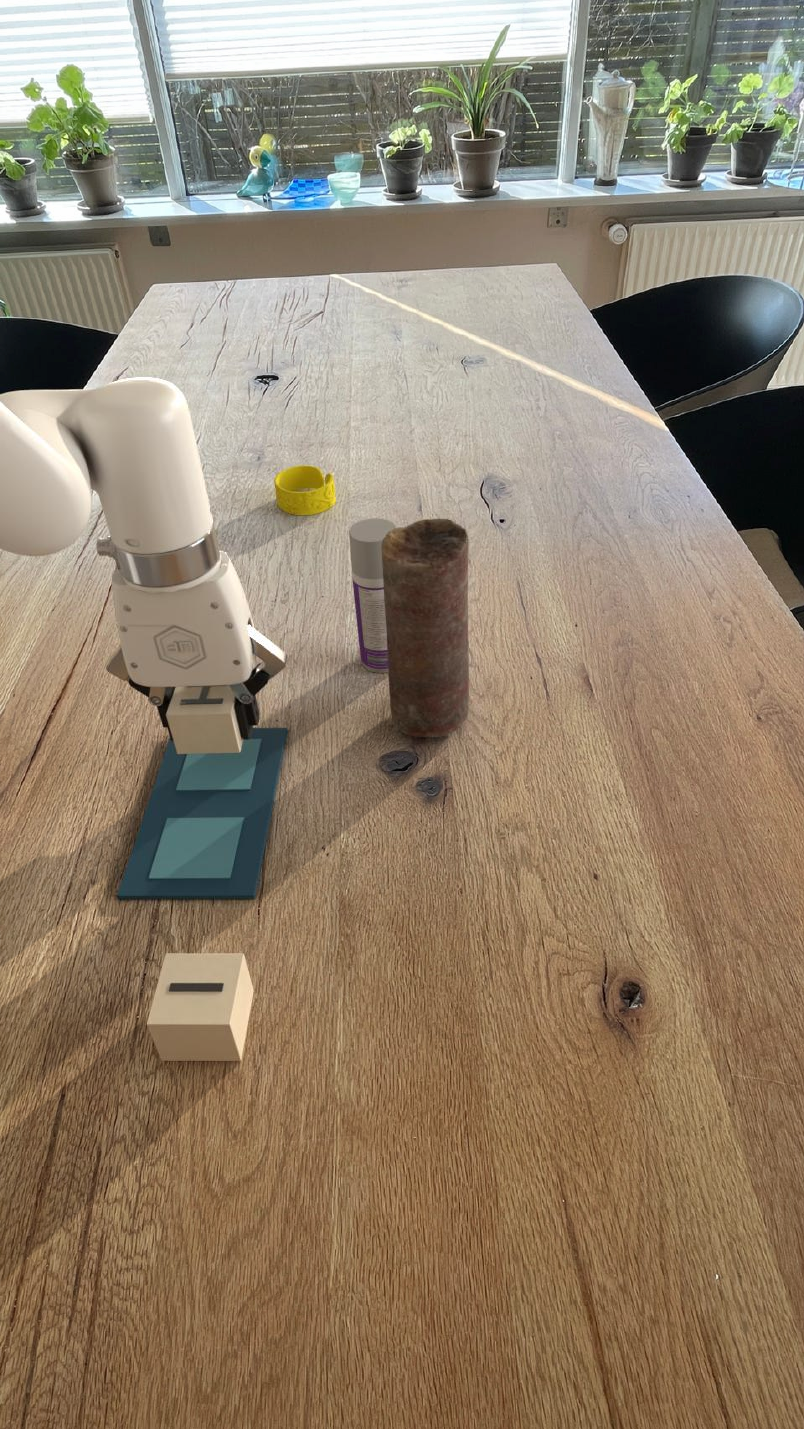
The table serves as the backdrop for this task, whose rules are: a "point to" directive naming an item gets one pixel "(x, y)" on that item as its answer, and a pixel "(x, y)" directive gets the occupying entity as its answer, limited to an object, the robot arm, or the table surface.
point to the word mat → (206, 823)
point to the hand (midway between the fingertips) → (213, 728)
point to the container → (370, 591)
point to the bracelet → (307, 500)
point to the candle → (427, 626)
